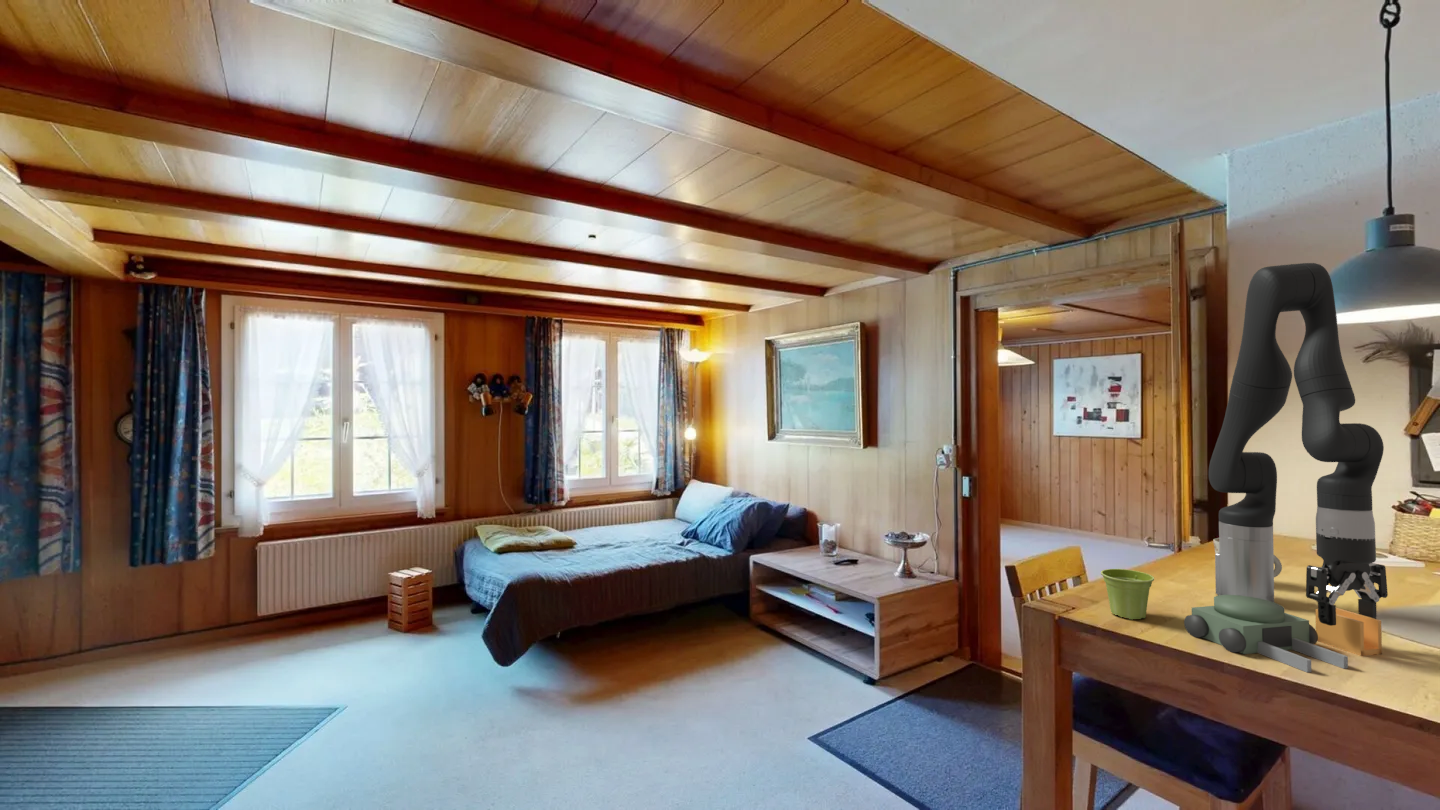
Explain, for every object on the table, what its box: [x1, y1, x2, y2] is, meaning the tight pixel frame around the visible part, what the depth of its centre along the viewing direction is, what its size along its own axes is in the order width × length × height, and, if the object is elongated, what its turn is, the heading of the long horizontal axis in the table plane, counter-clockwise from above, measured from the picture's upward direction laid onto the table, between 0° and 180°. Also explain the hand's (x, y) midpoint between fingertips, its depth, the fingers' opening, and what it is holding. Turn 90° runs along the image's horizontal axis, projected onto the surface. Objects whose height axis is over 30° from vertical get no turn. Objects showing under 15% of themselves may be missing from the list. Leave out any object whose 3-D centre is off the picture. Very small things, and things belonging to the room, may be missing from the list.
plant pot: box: [1100, 568, 1155, 620], centre depth 128 cm, size 9×9×9 cm
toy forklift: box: [1183, 594, 1349, 673], centre depth 110 cm, size 18×16×7 cm
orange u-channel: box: [1314, 607, 1383, 657], centre depth 110 cm, size 7×4×6 cm, turn 9°
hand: (1347, 622), depth 110 cm, fingers open, 8 cm apart
